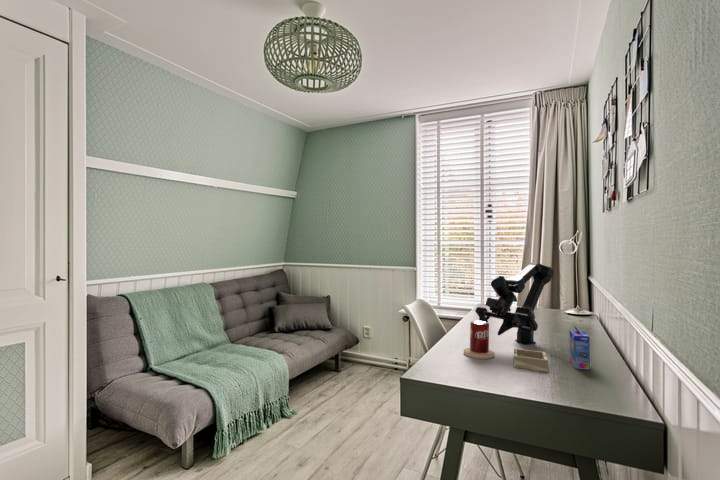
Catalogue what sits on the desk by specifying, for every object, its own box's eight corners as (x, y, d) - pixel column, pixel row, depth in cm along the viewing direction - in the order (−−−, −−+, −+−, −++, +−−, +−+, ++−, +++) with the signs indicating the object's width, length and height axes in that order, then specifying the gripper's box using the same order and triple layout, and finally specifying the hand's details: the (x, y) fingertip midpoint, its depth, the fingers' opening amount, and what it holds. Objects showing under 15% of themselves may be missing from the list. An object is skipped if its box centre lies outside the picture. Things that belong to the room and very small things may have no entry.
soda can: (492, 353, 155) (493, 323, 155) (480, 355, 152) (480, 325, 151) (478, 348, 162) (478, 319, 162) (466, 351, 158) (466, 321, 158)
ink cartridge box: (568, 360, 151) (569, 323, 151) (584, 362, 149) (585, 324, 149) (573, 368, 141) (574, 328, 141) (590, 370, 139) (591, 330, 139)
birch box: (513, 358, 152) (513, 348, 152) (544, 362, 148) (544, 351, 148) (514, 367, 141) (514, 356, 141) (547, 371, 137) (547, 360, 137)
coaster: (482, 349, 164) (482, 347, 164) (501, 357, 153) (501, 355, 153) (457, 351, 160) (457, 349, 160) (474, 360, 149) (474, 357, 149)
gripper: (477, 288, 170) (461, 316, 164) (516, 293, 155) (500, 324, 149) (488, 304, 175) (473, 332, 169) (527, 311, 160) (511, 342, 154)
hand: (488, 332), depth 160 cm, fingers open, 9 cm apart
